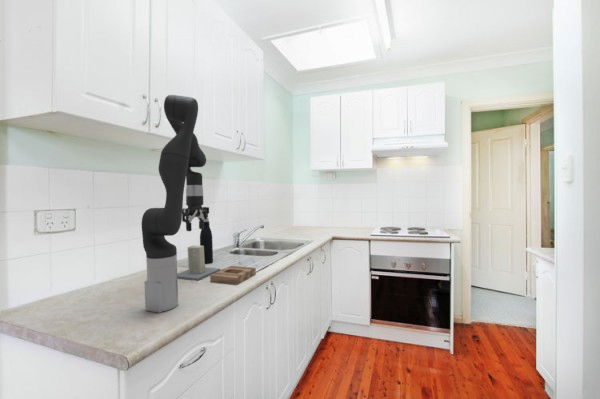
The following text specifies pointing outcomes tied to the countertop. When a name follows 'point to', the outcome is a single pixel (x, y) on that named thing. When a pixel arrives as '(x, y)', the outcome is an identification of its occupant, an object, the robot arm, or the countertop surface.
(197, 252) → the skincare box
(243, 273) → the holder
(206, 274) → the mat
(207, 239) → the wine bottle
